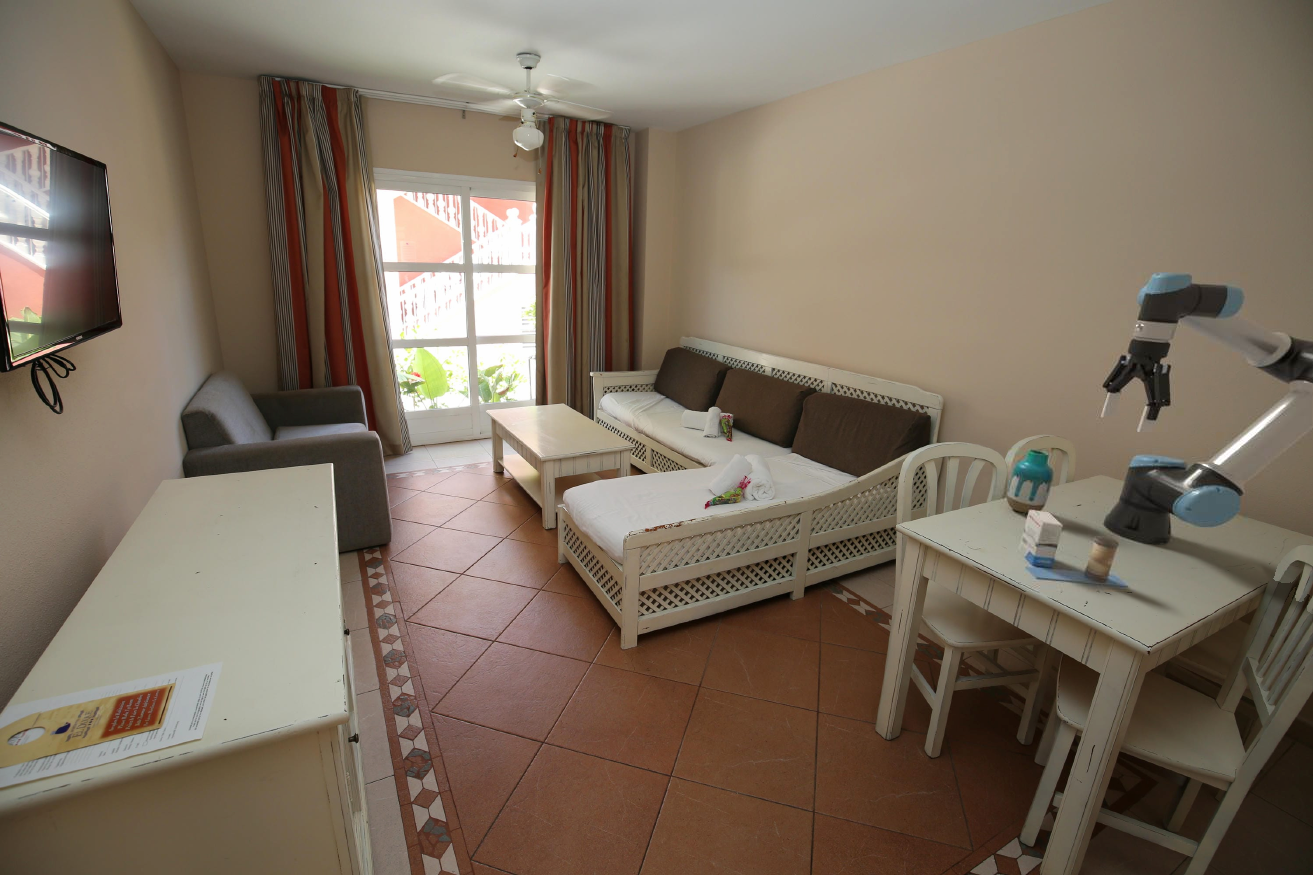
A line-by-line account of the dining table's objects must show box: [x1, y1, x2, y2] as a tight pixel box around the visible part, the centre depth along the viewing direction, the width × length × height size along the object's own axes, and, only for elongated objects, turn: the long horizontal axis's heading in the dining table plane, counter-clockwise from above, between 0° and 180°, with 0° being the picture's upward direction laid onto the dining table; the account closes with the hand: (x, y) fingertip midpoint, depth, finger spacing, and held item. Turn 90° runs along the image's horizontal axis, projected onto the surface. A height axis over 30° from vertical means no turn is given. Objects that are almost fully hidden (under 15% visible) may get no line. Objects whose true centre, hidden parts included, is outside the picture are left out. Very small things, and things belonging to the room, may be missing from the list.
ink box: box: [1018, 510, 1064, 568], centre depth 147 cm, size 9×5×12 cm, turn 169°
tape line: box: [1025, 566, 1129, 588], centre depth 141 cm, size 21×5×1 cm, turn 85°
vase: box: [1006, 449, 1054, 514], centre depth 176 cm, size 11×11×19 cm
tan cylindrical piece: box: [1084, 535, 1120, 583], centre depth 139 cm, size 5×5×10 cm
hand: (1124, 424), depth 146 cm, fingers open, 13 cm apart
